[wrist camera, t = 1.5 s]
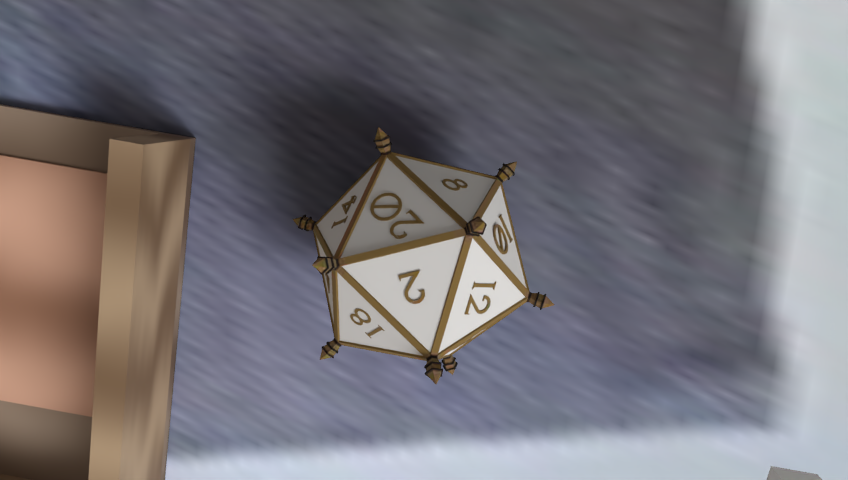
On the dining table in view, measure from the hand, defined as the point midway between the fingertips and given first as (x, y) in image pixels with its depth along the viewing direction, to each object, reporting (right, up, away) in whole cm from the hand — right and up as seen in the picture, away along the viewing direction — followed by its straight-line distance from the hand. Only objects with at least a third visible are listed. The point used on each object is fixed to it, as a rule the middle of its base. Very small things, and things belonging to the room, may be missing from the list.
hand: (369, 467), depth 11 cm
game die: (+1, +4, +16) cm, 17 cm away
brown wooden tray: (-18, +1, +18) cm, 25 cm away
